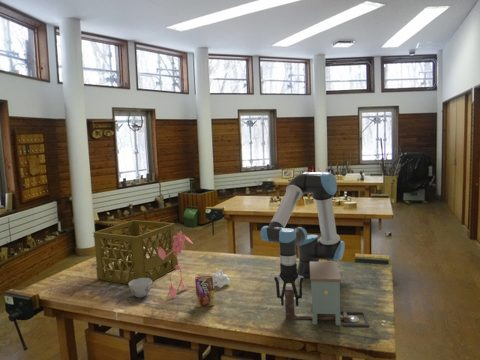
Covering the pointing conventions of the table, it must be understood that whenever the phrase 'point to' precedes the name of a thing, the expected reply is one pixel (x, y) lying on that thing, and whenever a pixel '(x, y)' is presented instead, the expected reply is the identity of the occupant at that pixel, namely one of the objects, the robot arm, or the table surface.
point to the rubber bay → (356, 324)
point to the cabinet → (325, 289)
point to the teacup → (140, 286)
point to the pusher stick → (290, 314)
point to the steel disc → (353, 318)
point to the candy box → (204, 290)
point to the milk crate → (134, 252)
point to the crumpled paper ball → (220, 279)
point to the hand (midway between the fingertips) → (290, 311)
